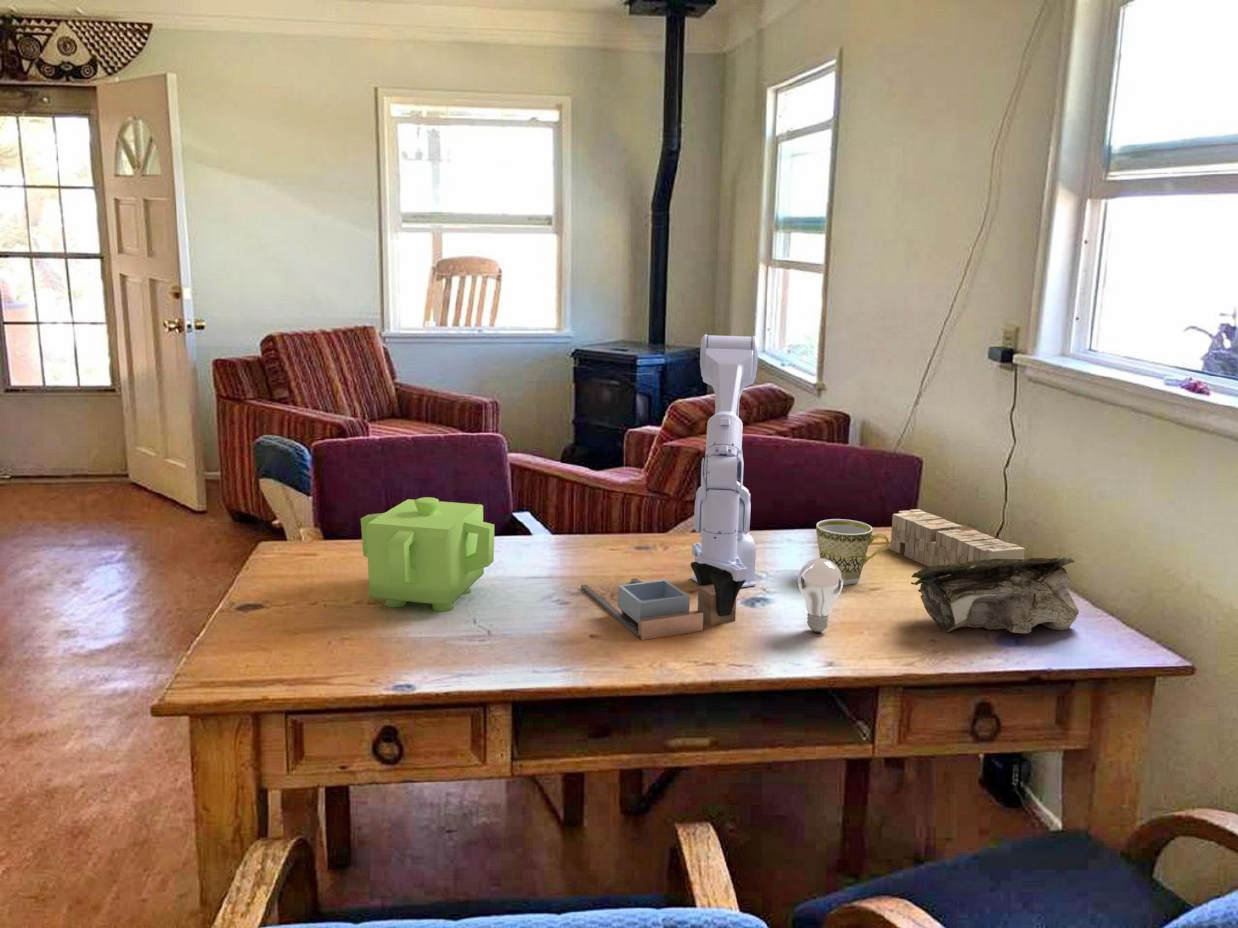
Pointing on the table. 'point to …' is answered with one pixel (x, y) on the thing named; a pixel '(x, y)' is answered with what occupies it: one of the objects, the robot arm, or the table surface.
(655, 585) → the grey open tray bin
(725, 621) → the walnut block
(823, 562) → the light bulb
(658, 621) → the rails
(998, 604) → the driftwood chunk
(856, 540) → the ceramic cup
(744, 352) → the robot arm
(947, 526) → the block tower
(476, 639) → the table surface
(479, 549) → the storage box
